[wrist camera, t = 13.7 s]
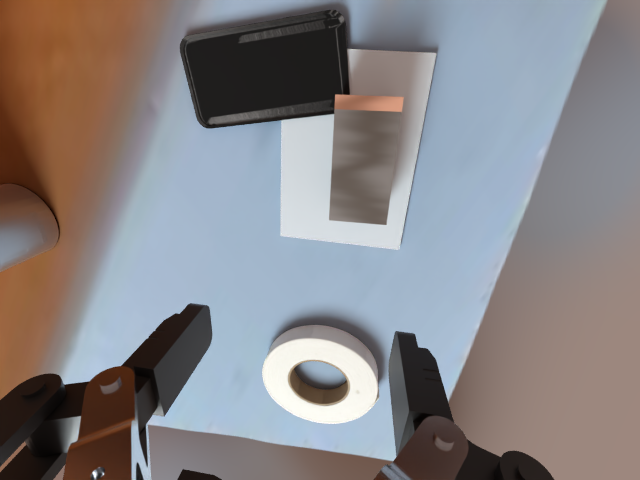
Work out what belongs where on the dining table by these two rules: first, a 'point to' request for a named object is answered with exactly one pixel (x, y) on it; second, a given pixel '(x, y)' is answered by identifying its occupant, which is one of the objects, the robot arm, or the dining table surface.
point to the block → (363, 157)
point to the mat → (317, 144)
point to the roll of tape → (328, 349)
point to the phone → (268, 70)
